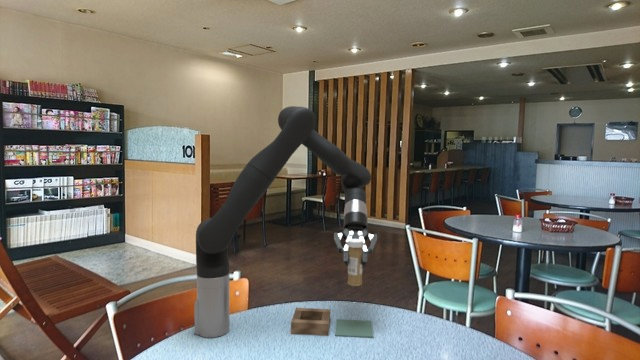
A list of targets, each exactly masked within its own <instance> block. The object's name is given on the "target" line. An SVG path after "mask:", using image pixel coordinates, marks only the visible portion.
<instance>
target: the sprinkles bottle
mask: <svg viewBox="0 0 640 360" xmlns="http://www.w3.org/2000/svg"><path fill="white" fill-rule="evenodd" d="M362 248H363V240H361V239H349V240H348V265H347V282H346V283H347V284H348V285H349V286H351V287H359V286H362V285H363V266H362Z"/></svg>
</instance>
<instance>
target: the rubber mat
mask: <svg viewBox="0 0 640 360" xmlns="http://www.w3.org/2000/svg"><path fill="white" fill-rule="evenodd" d="M334 333H335V335H334V336H335V337H343V338H344V337H347V338H348V337H349V338H367V339H374V331H373V323H372V320H371V319H370V320H368V319H364V320H362V319H346V318H342V319H341V318H336V321H335V332H334Z"/></svg>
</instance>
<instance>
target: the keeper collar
mask: <svg viewBox="0 0 640 360" xmlns="http://www.w3.org/2000/svg"><path fill="white" fill-rule="evenodd" d="M330 325H331V308H314V307H313V308H311V307H310V308H309V307H308V308H307V307H296V308H295V310H294V313H293V315H292V318H291V321H290V335H301V336H302V335H305V336H306V335H308V336H324V337H325V336H327V337H328V336H329V335H330Z"/></svg>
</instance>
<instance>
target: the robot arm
mask: <svg viewBox="0 0 640 360" xmlns="http://www.w3.org/2000/svg"><path fill="white" fill-rule="evenodd" d="M316 120H317V119H316V115H315V113H314V112H313V110H311V109H310V108H308V107H304V106H295V105H294V106H293V105H292V106H291V105H289V106H287V107H284V108H283V109H282V110H280V112H279V113H278V116H277V124H278V126H279V128H280V130H281V131H280V132H279V133H278V135H277V136H276V137H275V139H273V140H272V142H270V143H269V144H268V145H267V146H265V147H264V148H263V149H261V150H260V151H258V152H257V154H255V155H254V156H253V157H252V158H251V159H250V160H249V161H248V163H247V164H246V165H245V167H243V169H242V170H241V171H240V173H239V175H238V176H237V178H236V180H235V181H234V184H233V185H232V187H231V188H230V192H229V193H228V195H227V198H226V199H225V201H224V202H223V204H222V205H221V207H220V208H219V209H218V211H217V212H216V213H215V214H214V215H213V216H212V217H208V218H206V219H203V220H202V221H201V222H200V223H199V224H198V226H197V227H196V231H195V260H196V261H195V264H196V266H195V267H196V300H195V301H194V303H193V305H194V307H193V308H194V309H193V310H194V318H193V319H194V326H193V327H194V335H198V336H200V337H202V338H218V337H221V336H224V335H226V334H228V332H230V324H231V323H230V261H229V245H230V243H231V241H232V240H233V238H234V236H235V234H236V233H237V231H238V229H239V228H240V226H241V224H242V223H243V222H244V219H245V218H246V216H248V214H249V213H250V212H251V211H252V210H253V208H254V207H255V206H256V204H257V203H258V202H259V201H260V199H261V198H262V197H263V196H264V194H266V192H267V190H268V189H269V188H270V186H271V185H272V184H273V182H274V181H275V180H276V178H277V177H278V175H279V174H280V172H281V171H282V169H283V168H284V167H285V165H286V164H287V162H288V161H289V160H290V158H291V157H292V156H293V154H294V153H296V151H297V150H298V149H299V147H300V146H301V145H303V146H304V147H305V148H306V149H308V150H309V151H310V152H311V153H312V154H313V155H315V156H316V157H317V158H318V159H319V160H320V161H321V162H322V163H323V164H324V165H326V166H327V167H328V168H329V170H331V171H332V172H333V174H336V175H337V176H341V179H340V184H341V186H342V190H343V193H344V197H345V199H344V203H345V204H344V209H343V210H344V211H343V230H342V231H341V232H339V233H338V232H334V233H333V239H334V243H335V245H336V249H337V252H338V253H340V254H343V264H345V266H348V240H349V239H361V240H363V248H362V267H365V266H366V265H367V264H368V255H372V254H374V253H373V252H374V249H375V247H376V244H377V241H378V233H374V234H371V233H370V232H369V230H368V208H367V193H366V191H365V190H364V189H363V188H364V187H366V186H368V185H369V184H370V183H371V181H372V174H371V173H370V171H369V169H368V168H367V167H366V166H364V165H363V164H361V163H359V162H357V161H355V160H354V159H351V158H350V157H349V156H347V154H346V153H345V152H344V151H343V150H341V148H339V147H338V146H336V144H334V143H333V142H331V141H330V140H328V139H327V138H326V137H324V136H323V135H321V134H320V133H319V132H318V131H316V130H315V127H316ZM342 238H343V240H344V241H345V245H344V246H342V243H341V240H342ZM368 239H369V241H370V245H369V247H367V245H366V241H368Z"/></svg>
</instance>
